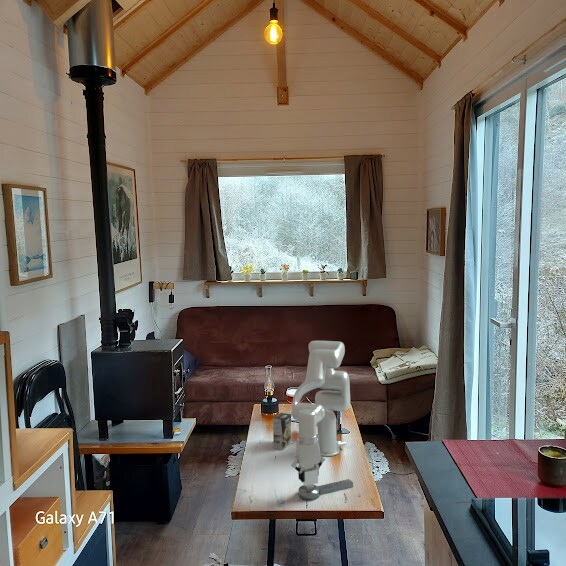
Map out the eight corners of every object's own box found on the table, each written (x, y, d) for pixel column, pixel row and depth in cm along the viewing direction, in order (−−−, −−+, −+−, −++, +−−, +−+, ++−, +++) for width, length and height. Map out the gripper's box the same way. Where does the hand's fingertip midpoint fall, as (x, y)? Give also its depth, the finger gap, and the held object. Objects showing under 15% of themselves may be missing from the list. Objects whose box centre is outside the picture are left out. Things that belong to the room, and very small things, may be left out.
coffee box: (283, 450, 272) (283, 419, 270) (273, 447, 276) (272, 417, 274) (292, 443, 280) (291, 413, 278) (281, 441, 283) (281, 412, 281)
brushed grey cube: (312, 476, 231) (311, 463, 230) (318, 482, 225) (317, 469, 224) (299, 479, 229) (299, 466, 228) (305, 485, 223) (304, 472, 222)
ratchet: (346, 480, 239) (346, 468, 239) (356, 489, 231) (356, 477, 230) (295, 492, 230) (295, 480, 230) (303, 502, 222) (303, 490, 221)
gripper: (322, 432, 231) (323, 471, 233) (285, 439, 225) (286, 479, 227) (330, 438, 224) (330, 479, 226) (292, 445, 218) (293, 487, 220)
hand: (308, 478), depth 227 cm, fingers closed on brushed grey cube, 6 cm apart
